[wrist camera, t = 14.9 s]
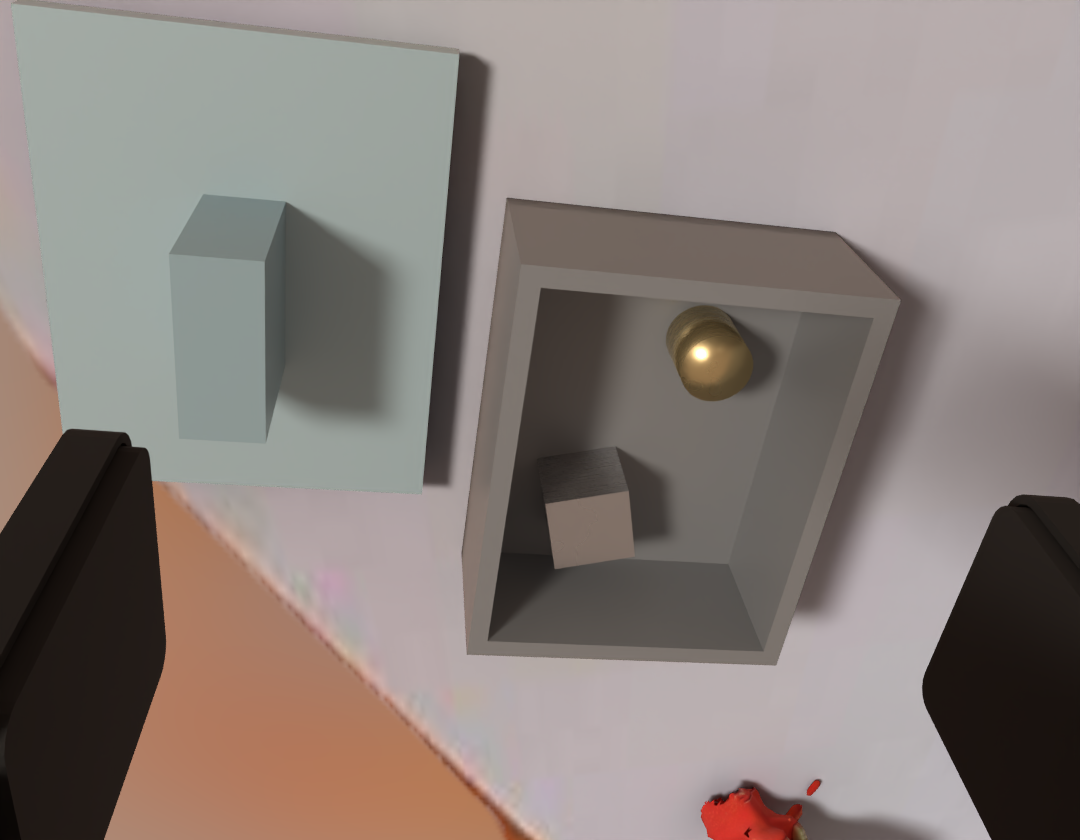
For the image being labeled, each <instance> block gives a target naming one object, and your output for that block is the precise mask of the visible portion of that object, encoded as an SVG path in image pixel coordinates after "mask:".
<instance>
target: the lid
mask: <svg viewBox="0 0 1080 840" xmlns="http://www.w3.org/2000/svg"><path fill="white" fill-rule="evenodd" d="M11 9H12V17H13V25H14V34H15V42H16V50H17V59H18V67H19V75H20V83H21V92H22V100H23V108H24V116H25V125H26V133H27V141H28V150H29V158H30V166H31V174H32V183H33V191H34V199H35V207H36V216H37V224H38V232H39V241H40V249H41V257H42V265H43V274H44V282H45V290H46V298H47V307H48V315H49V323H50V332H51V340H52V348H53V356H54V365H55V373H56V381H57V389H58V398H59V406H60V414H61V422H62V431H63V434H64V433H65V431H66V430H68V429H85V430H99V431H114V432H126V433H127V434H128V435H129V437H130V440H131V443H132V447H144V448H146V449H147V450H148V452H149V456H150V463H151V475H152V481H166V482H186V483H206V484H226V485H246V486H266V487H285V488H305V489H325V490H345V491H365V492H385V493H405V494H422V487H423V475H424V463H425V452H426V440H427V428H428V416H429V405H430V393H431V381H432V370H433V358H434V346H435V334H436V323H437V311H438V299H439V287H440V276H441V264H442V252H443V241H444V229H445V217H446V205H447V194H448V182H449V170H450V158H451V147H452V135H453V123H454V111H455V100H456V88H457V76H458V65H459V49H456V48H447V47H438V46H429V45H421V44H412V43H403V42H394V41H386V40H377V39H368V38H359V37H351V36H342V35H333V34H324V33H316V32H307V31H298V30H290V29H281V28H272V27H263V26H255V25H246V24H237V23H228V22H220V21H211V20H202V19H193V18H185V17H176V16H167V15H158V14H150V13H141V12H132V11H123V10H115V9H106V8H97V7H89V6H80V5H71V4H62V3H54V2H45V1H36V0H17V1H15V2H13V3H11Z"/></svg>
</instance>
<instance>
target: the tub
mask: <svg viewBox="0 0 1080 840" xmlns="http://www.w3.org/2000/svg"><path fill="white" fill-rule="evenodd" d="M900 302H901V300H900V299H899V298H898V297H897V296H896V294H895V293H894V292H893V291H892V290H891V289H890V288H889V287H888V286H887V285H886V284H885V283H884V282H883V281H882V280H881V279H880V278H879V277H878V276H877V275H876V274H875V273H874V272H873V271H872V270H871V269H870V268H869V267H868V266H867V265H866V264H865V262H864V261H863V260H862V259H861V258H860V257H859V256H858V255H857V254H856V253H855V252H854V251H853V250H852V249H851V248H850V247H849V246H848V245H847V244H846V243H845V242H844V241H843V240H842V239H841V238H840V237H839V236H838V235H837V234H836V233H835V232H828V231H819V230H809V229H800V228H790V227H781V226H771V225H762V224H752V223H743V222H733V221H723V220H714V219H704V218H695V217H685V216H676V215H666V214H657V213H647V212H637V211H628V210H618V209H609V208H599V207H590V206H580V205H571V204H561V203H551V202H542V201H532V200H523V199H513V198H507V201H506V208H505V216H504V224H503V232H502V240H501V248H500V256H499V263H498V271H497V279H496V287H495V295H494V303H493V311H492V318H491V326H490V334H489V342H488V350H487V358H486V366H485V373H484V381H483V389H482V397H481V405H480V413H479V420H478V428H477V436H476V444H475V452H474V460H473V468H472V475H471V483H470V491H469V499H468V507H467V515H466V523H465V530H464V538H463V546H462V571H463V591H464V610H465V629H466V649H467V655H495V656H523V657H551V658H580V659H608V660H636V661H665V662H693V663H722V664H750V665H776V664H777V661H778V659H779V656H780V653H781V650H782V647H783V644H784V641H785V638H786V635H787V632H788V629H789V626H790V623H791V621H792V618H793V615H794V612H795V609H796V606H797V603H798V600H799V597H800V594H801V591H802V588H803V585H804V583H805V580H806V577H807V574H808V571H809V568H810V565H811V562H812V559H813V556H814V553H815V550H816V547H817V545H818V542H819V539H820V536H821V533H822V530H823V527H824V524H825V521H826V518H827V515H828V512H829V509H830V507H831V504H832V501H833V498H834V495H835V492H836V489H837V486H838V483H839V480H840V477H841V474H842V471H843V469H844V466H845V463H846V460H847V457H848V454H849V451H850V448H851V445H852V442H853V439H854V436H855V433H856V431H857V428H858V425H859V422H860V419H861V416H862V413H863V410H864V407H865V404H866V401H867V398H868V395H869V393H870V390H871V387H872V384H873V381H874V378H875V375H876V372H877V369H878V366H879V363H880V360H881V357H882V355H883V352H884V349H885V346H886V343H887V340H888V337H889V334H890V331H891V328H892V325H893V322H894V319H895V317H896V314H897V311H898V308H899V305H900ZM700 305H709V306H714V307H717V308H719V309H721V310H723V311H724V312H725V313H726V314H727V315H728V316H729V317H730V319H731V320H732V322H733V324H734V325H735V327H736V329H737V330H738V332H739V334H740V335H741V337H742V339H743V340H744V342H745V344H746V345H747V347H748V349H749V350H750V352H751V355H752V358H753V371H752V374H751V377H750V379H749V381H748V382H747V384H746V385H745V386H744V388H743V389H741V390H740V391H739V392H738V393H737V394H735V395H733V396H732V397H730V398H727V399H724V400H720V401H704V400H700V399H698V398H696V397H694V396H692V395H691V394H690V393H689V392H688V391H687V390H686V389H685V387H684V385H683V383H682V381H681V379H680V376H679V374H678V372H677V370H676V367H675V365H674V363H673V361H672V359H671V356H670V354H669V352H668V350H667V346H666V335H667V331H668V328H669V326H670V325H671V323H672V321H673V320H674V319H675V318H676V317H677V316H678V315H679V314H680V313H682V312H683V311H685V310H687V309H689V308H692V307H695V306H700ZM612 446H615V447H616V450H617V454H618V457H619V460H620V464H621V467H622V470H623V474H624V477H625V480H626V484H627V487H628V490H629V499H630V510H631V521H632V531H633V542H634V552H635V557H629V558H623V559H616V560H610V561H604V562H598V563H591V564H585V565H579V566H572V567H566V568H560V569H555V567H554V561H553V555H552V550H551V544H550V538H549V532H548V527H547V521H546V514H545V507H544V500H543V494H542V487H541V480H540V473H539V467H538V460H537V458H542V457H548V456H555V455H561V454H567V453H574V452H580V451H587V450H593V449H599V448H606V447H612Z"/></svg>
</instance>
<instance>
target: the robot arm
mask: <svg viewBox="0 0 1080 840" xmlns="http://www.w3.org/2000/svg"><path fill="white" fill-rule="evenodd" d="M165 652H166V635H165V623H164V611H163V600H162V589H161V577H160V566H159V554H158V543H157V532H156V521H155V509H154V497H153V486H152V475H151V463H150V456H149V452H148V450H147V449H146V448H144V447H132V443H131V440H130V437H129V435H128V434H127V433H126V432H114V431H99V430H85V429H68V430H66V431H65V433H64V434H63V435H62V437H61V438H60V440H59V441H58V443H57V444H56V446H55V448H54V449H53V451H52V452H51V454H50V456H49V457H48V459H47V460H46V462H45V463H44V465H43V467H42V468H41V470H40V471H39V473H38V475H37V476H36V478H35V479H34V481H33V483H32V484H31V486H30V487H29V489H28V491H27V492H26V494H25V495H24V497H23V498H22V500H21V502H20V503H19V505H18V506H17V508H16V510H15V511H14V513H13V514H12V516H11V518H10V519H9V521H8V522H7V524H6V526H5V527H4V529H3V530H2V532H1V533H0V840H104V838H105V835H106V832H107V829H108V826H109V823H110V820H111V817H112V815H113V812H114V809H115V806H116V803H117V800H118V797H119V795H120V791H121V788H122V786H123V783H124V780H125V777H126V774H127V771H128V769H129V766H130V763H131V760H132V757H133V754H134V751H135V749H136V746H137V743H138V740H139V737H140V734H141V731H142V728H143V725H144V723H145V720H146V717H147V714H148V711H149V708H150V705H151V702H152V699H153V697H154V694H155V691H156V688H157V685H158V682H159V679H160V677H161V673H162V670H163V664H164V660H165ZM922 692H923V699H924V704H925V706H926V709H927V711H928V713H929V715H930V717H931V719H932V721H933V723H934V725H935V727H936V729H937V731H938V733H939V735H940V737H941V739H942V741H943V743H944V745H945V747H946V749H947V751H948V753H949V755H950V757H951V759H952V761H953V763H954V765H955V767H956V769H957V771H958V773H959V775H960V777H961V779H962V781H963V783H964V785H965V787H966V789H967V791H968V793H969V795H970V797H971V799H972V801H973V803H974V805H975V807H976V809H977V811H978V813H979V815H980V817H981V819H982V821H983V823H984V825H985V827H986V829H987V832H988V834H989V836H990V838H991V840H1080V504H1079V503H1078V502H1076V501H1075V500H1074V499H1071V498H1067V497H1052V496H1038V495H1019V496H1016V497H1015V498H1014V499H1013V500H1012V501H1010V503H1009V505H1008V506H1003V507H1000V508H999V509H998V510H997V511H996V512H995V514H994V516H993V517H992V520H991V522H990V524H989V527H988V529H987V531H986V534H985V536H984V538H983V540H982V543H981V545H980V547H979V550H978V552H977V554H976V557H975V559H974V561H973V564H972V566H971V568H970V570H969V573H968V575H967V577H966V580H965V582H964V584H963V587H962V589H961V591H960V593H959V596H958V598H957V600H956V603H955V605H954V607H953V610H952V612H951V614H950V617H949V619H948V621H947V623H946V626H945V628H944V630H943V633H942V635H941V637H940V640H939V642H938V644H937V647H936V649H935V651H934V653H933V656H932V658H931V660H930V663H929V665H928V667H927V670H926V672H925V675H924V678H923V685H922Z"/></svg>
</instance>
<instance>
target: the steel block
mask: <svg viewBox="0 0 1080 840" xmlns="http://www.w3.org/2000/svg"><path fill="white" fill-rule="evenodd" d="M537 460H538V467H539V473H540V480H541V487H542V494H543V500H544V507H545V514H546V521H547V527H548V532H549V538H550V544H551V550H552V555H553V561H554V567H555V569H560V568H566V567H572V566H579V565H585V564H591V563H598V562H604V561H610V560H616V559H623V558H629V557H635V552H634V542H633V531H632V521H631V510H630V499H629V490H628V487H627V484H626V480H625V477H624V474H623V470H622V467H621V464H620V460H619V457H618V454H617V450H616V447H615V446H612V447H606V448H599V449H593V450H587V451H580V452H574V453H567V454H561V455H555V456H548V457H542V458H537Z"/></svg>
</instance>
